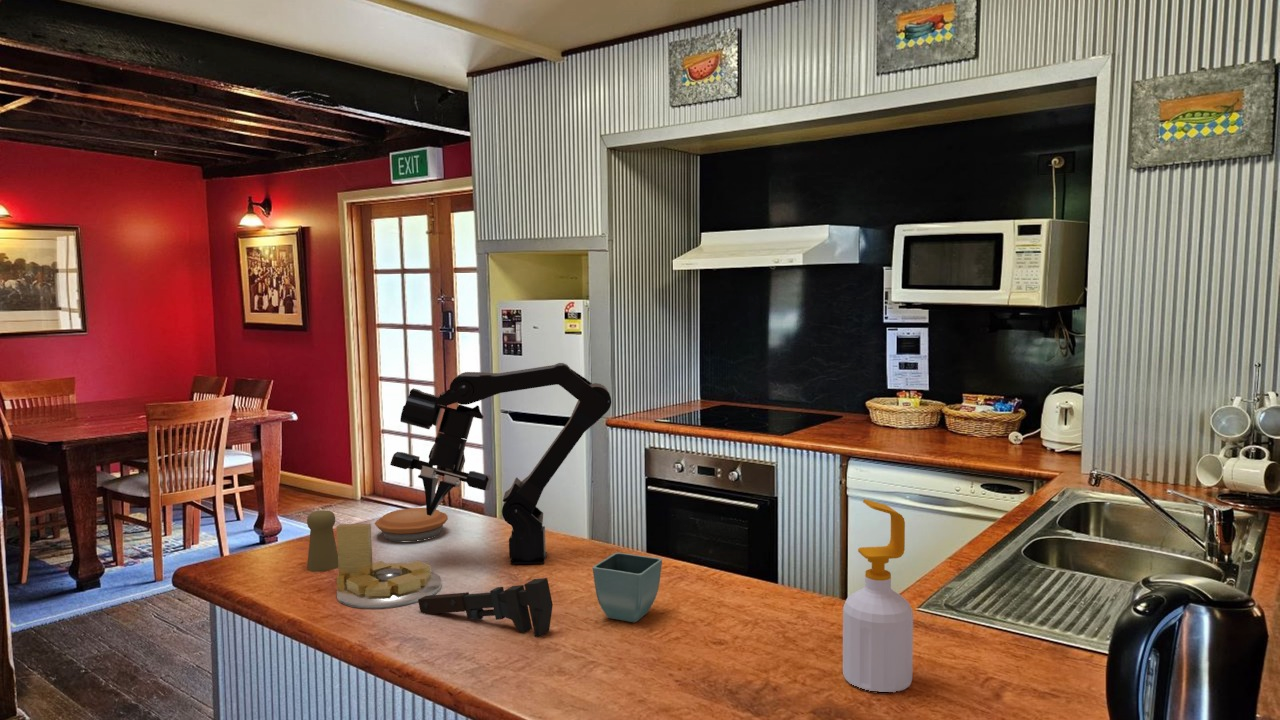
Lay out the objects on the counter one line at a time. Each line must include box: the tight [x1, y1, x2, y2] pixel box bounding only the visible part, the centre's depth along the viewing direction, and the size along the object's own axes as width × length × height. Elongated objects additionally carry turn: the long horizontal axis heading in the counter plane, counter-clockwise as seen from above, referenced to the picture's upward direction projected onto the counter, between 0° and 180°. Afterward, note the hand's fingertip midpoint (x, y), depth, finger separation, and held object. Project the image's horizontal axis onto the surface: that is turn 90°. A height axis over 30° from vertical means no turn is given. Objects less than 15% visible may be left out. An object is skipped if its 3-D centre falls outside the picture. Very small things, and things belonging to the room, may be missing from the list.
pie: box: [374, 507, 449, 542], centre depth 190 cm, size 15×16×5 cm
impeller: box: [336, 568, 442, 610], centre depth 155 cm, size 18×18×3 cm
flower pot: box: [592, 552, 663, 623], centre depth 141 cm, size 9×9×9 cm
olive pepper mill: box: [306, 509, 338, 573], centre depth 169 cm, size 6×6×11 cm
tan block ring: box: [336, 523, 432, 596], centre depth 155 cm, size 16×14×10 cm
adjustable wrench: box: [417, 577, 554, 638], centre depth 140 cm, size 8×3×25 cm
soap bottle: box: [842, 498, 914, 693], centre depth 116 cm, size 9×9×25 cm
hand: (429, 515), depth 165 cm, fingers closed
